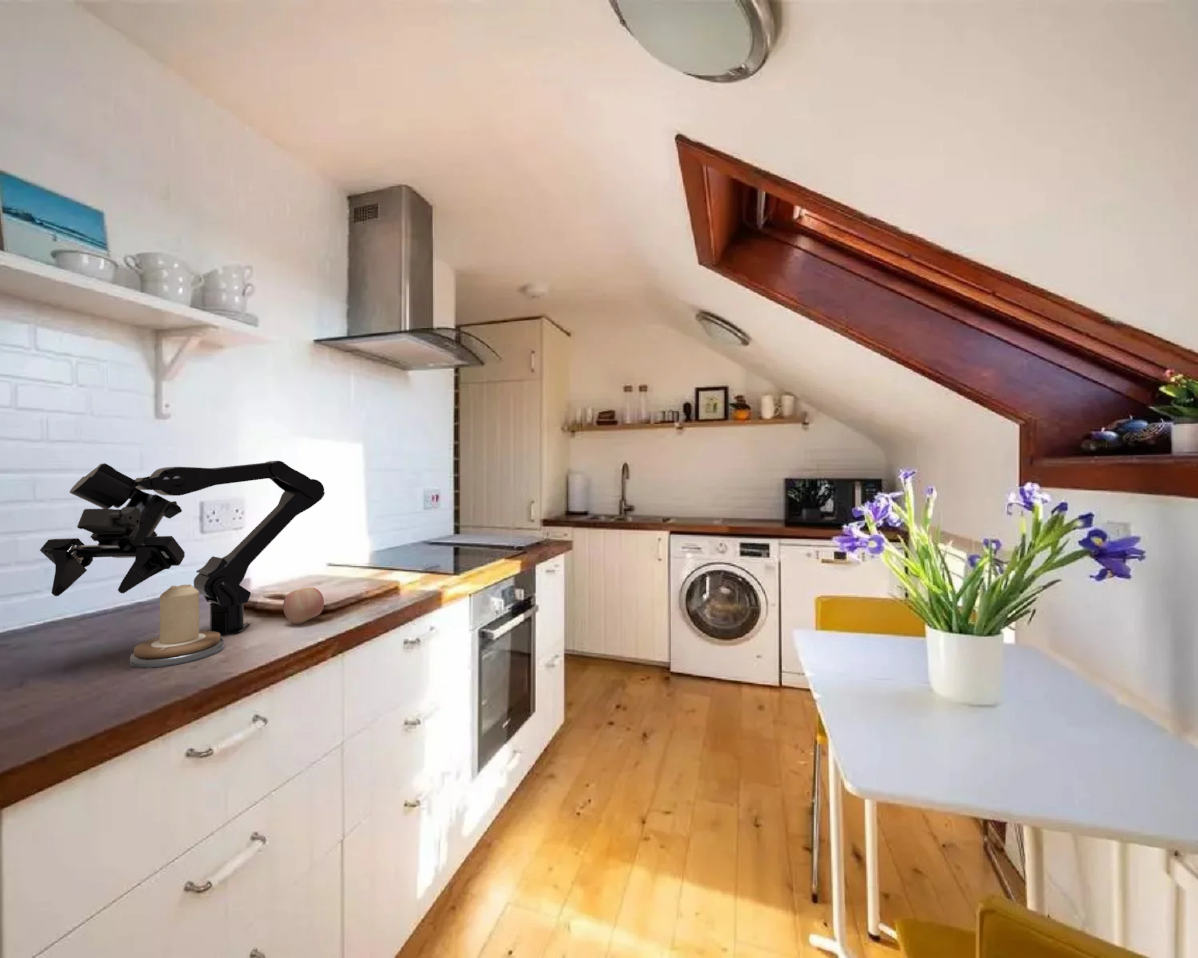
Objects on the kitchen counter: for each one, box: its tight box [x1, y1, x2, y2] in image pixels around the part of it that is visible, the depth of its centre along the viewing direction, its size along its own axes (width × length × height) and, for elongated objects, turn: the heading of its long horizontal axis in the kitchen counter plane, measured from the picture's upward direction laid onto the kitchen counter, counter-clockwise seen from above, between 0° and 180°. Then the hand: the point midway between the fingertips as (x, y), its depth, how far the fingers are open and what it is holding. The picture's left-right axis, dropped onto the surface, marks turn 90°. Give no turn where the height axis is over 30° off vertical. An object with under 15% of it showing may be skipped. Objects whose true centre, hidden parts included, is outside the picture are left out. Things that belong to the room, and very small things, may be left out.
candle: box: [159, 584, 200, 644], centre depth 89 cm, size 6×6×10 cm
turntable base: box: [129, 637, 225, 669], centre depth 89 cm, size 13×13×1 cm
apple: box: [282, 586, 325, 625], centre depth 109 cm, size 8×8×8 cm
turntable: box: [133, 630, 221, 659], centre depth 89 cm, size 12×12×1 cm
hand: (87, 593), depth 79 cm, fingers open, 9 cm apart
